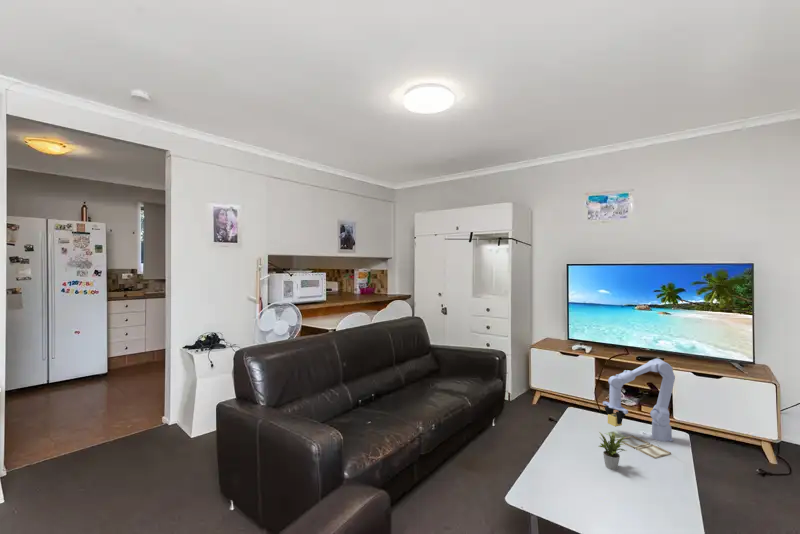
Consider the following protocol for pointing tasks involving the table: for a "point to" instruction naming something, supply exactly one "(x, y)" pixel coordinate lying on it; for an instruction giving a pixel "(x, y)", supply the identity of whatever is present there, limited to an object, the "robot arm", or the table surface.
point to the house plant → (611, 451)
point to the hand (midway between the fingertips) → (614, 421)
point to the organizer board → (641, 445)
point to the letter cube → (613, 420)
